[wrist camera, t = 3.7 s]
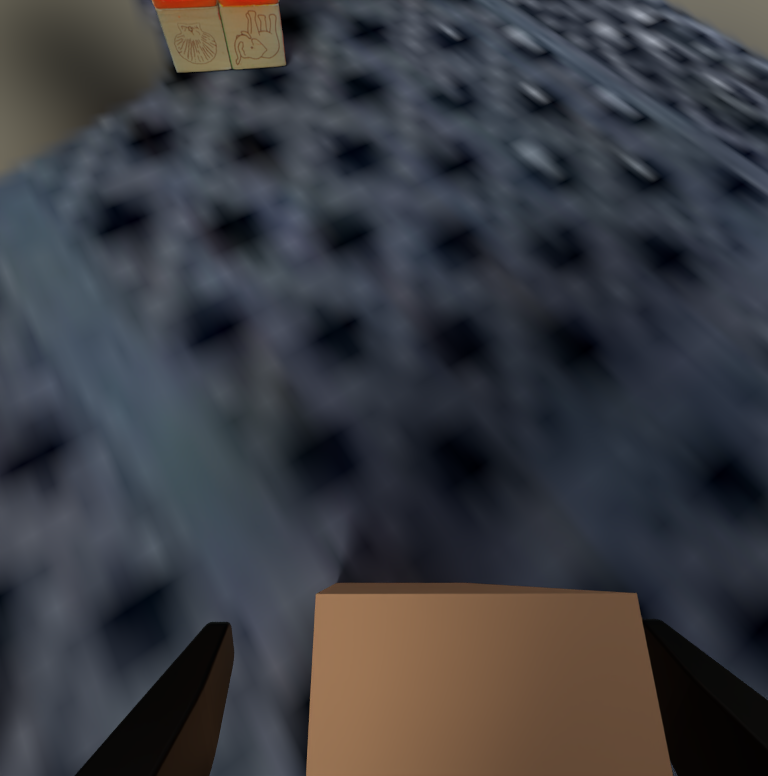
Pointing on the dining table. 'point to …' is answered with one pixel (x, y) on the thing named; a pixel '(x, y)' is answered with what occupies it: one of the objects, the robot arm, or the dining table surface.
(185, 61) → the stack of blocks
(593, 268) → the dining table surface
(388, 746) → the pillar brick
